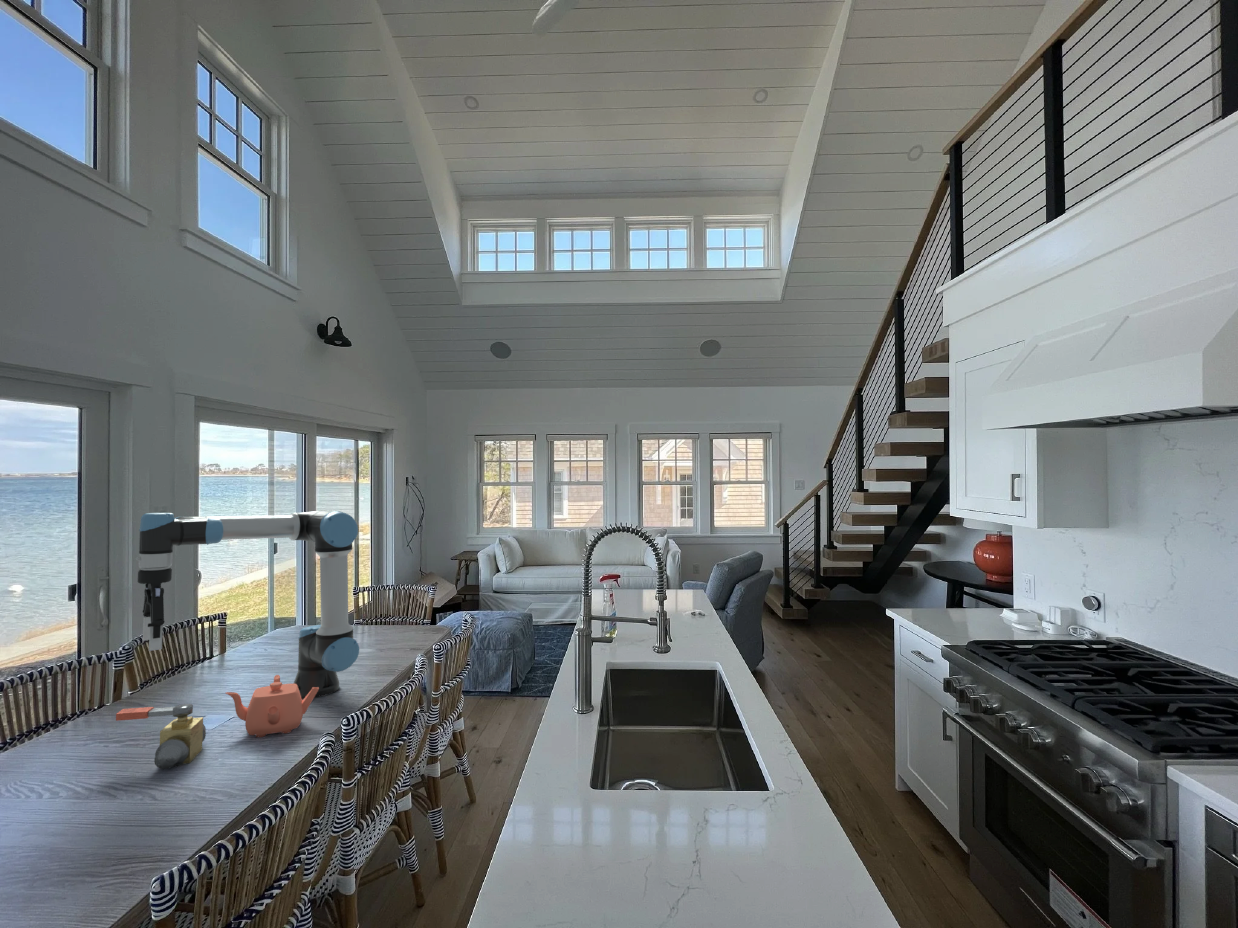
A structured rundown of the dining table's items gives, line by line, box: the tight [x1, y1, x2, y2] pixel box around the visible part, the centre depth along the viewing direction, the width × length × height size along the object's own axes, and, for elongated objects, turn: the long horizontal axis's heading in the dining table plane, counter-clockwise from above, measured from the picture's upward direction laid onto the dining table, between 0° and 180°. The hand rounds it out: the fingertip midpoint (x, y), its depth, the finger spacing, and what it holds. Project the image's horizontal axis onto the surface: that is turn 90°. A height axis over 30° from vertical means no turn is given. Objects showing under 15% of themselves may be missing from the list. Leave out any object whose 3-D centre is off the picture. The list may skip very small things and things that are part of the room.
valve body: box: [153, 715, 207, 770], centre depth 161 cm, size 18×7×12 cm, turn 15°
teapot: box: [225, 674, 319, 738], centre depth 181 cm, size 18×18×14 cm
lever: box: [115, 703, 194, 722], centre depth 160 cm, size 17×4×2 cm, turn 105°
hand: (151, 644), depth 167 cm, fingers open, 13 cm apart
